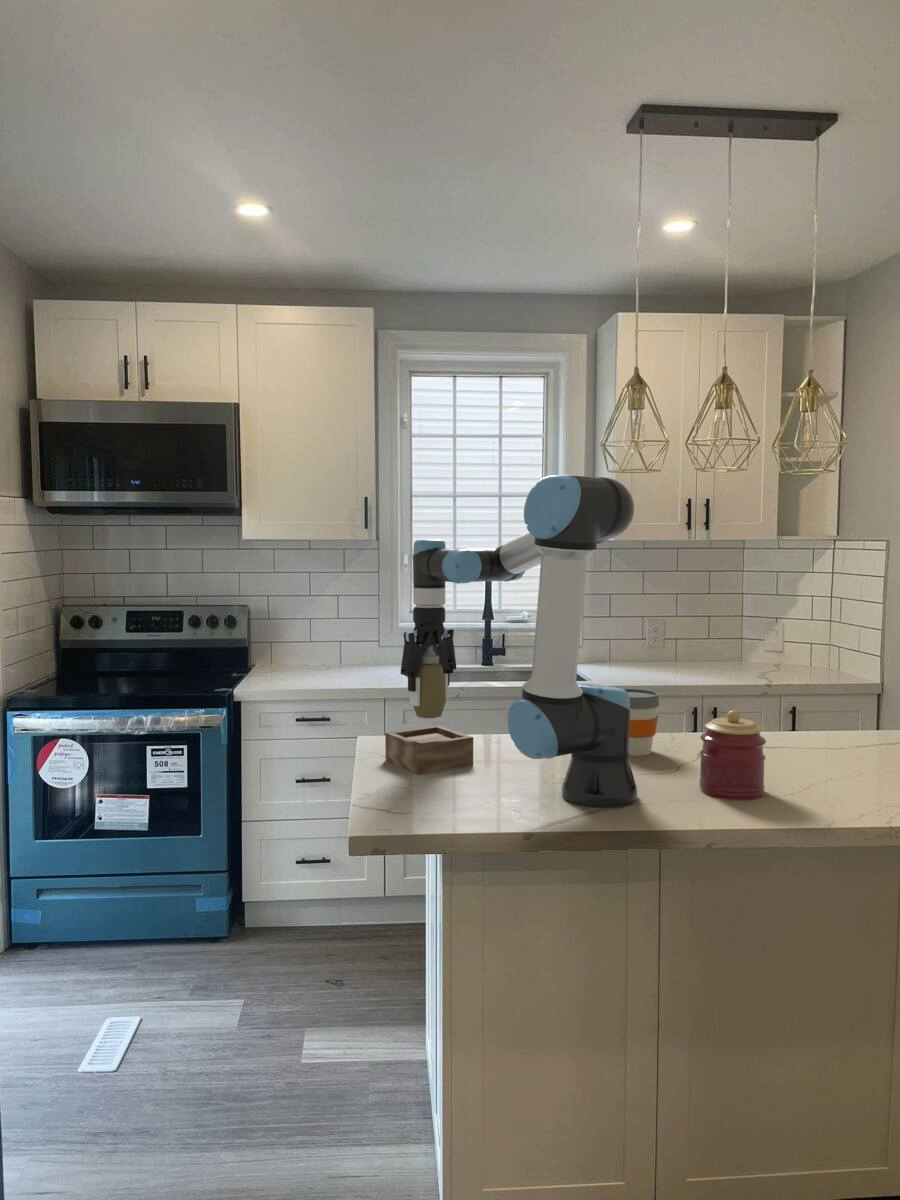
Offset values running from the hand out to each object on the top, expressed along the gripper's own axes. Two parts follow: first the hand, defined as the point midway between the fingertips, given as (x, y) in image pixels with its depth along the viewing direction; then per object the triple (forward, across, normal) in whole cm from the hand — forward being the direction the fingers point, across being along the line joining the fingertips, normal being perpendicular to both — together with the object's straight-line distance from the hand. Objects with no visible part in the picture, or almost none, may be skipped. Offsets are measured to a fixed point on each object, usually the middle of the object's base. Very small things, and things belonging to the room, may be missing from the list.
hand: (429, 702), depth 204 cm
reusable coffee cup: (+15, -44, +26) cm, 53 cm away
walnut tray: (+15, 0, 0) cm, 15 cm away
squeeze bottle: (+3, 0, 0) cm, 3 cm away
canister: (+15, -31, +61) cm, 69 cm away
